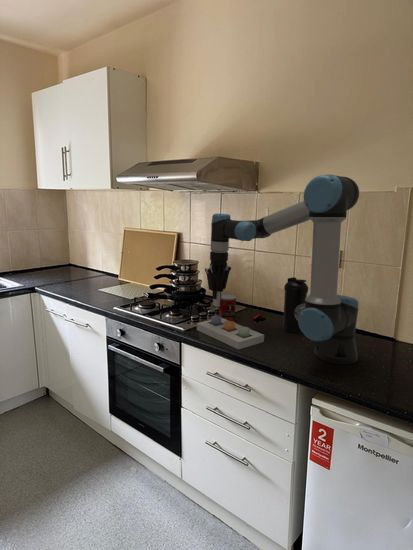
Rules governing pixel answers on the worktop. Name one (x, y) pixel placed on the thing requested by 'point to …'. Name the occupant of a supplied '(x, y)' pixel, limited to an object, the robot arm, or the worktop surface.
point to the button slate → (216, 320)
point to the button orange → (229, 326)
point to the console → (230, 334)
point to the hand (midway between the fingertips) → (216, 305)
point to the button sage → (244, 332)
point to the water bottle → (294, 303)
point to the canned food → (227, 307)
